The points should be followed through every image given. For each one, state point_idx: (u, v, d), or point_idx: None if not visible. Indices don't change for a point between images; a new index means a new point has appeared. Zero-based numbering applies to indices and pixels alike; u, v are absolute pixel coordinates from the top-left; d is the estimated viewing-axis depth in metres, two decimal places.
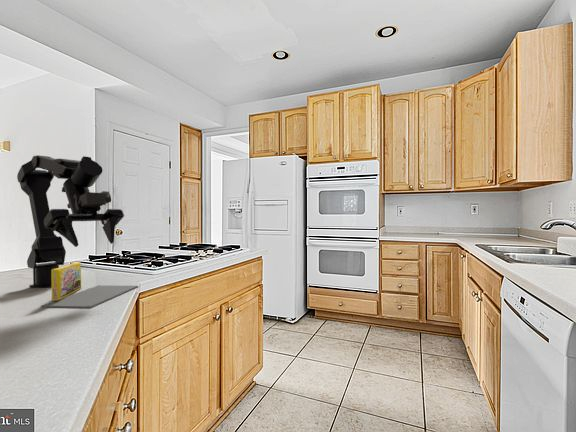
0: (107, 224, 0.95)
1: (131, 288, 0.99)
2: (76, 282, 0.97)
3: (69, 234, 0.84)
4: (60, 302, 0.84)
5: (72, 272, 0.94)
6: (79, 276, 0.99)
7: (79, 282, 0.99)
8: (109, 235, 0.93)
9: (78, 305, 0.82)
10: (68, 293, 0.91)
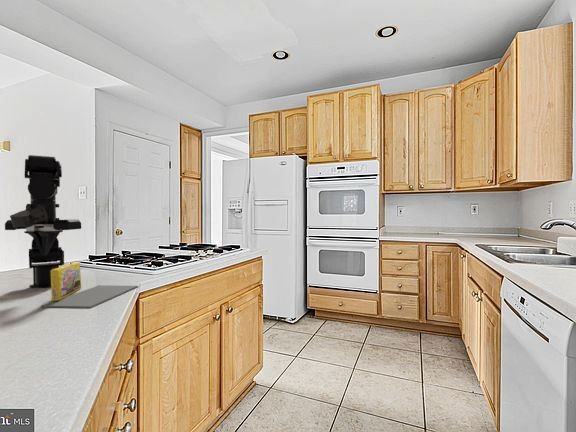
0: None
1: (131, 288, 0.99)
2: (76, 282, 0.97)
3: None
4: (60, 302, 0.84)
5: (71, 272, 0.94)
6: (79, 276, 0.99)
7: (79, 282, 0.99)
8: None
9: (78, 305, 0.82)
10: (68, 293, 0.91)
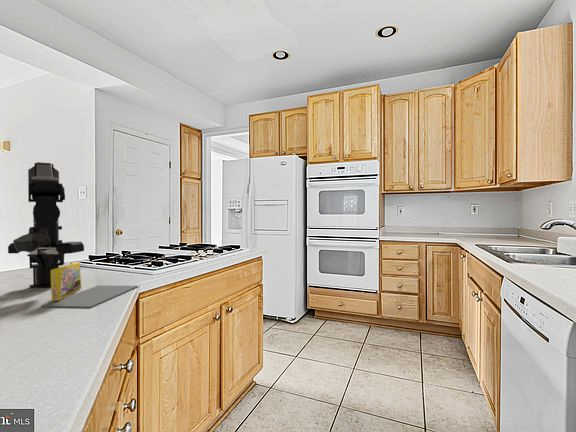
0: None
1: (131, 288, 0.99)
2: (76, 282, 0.97)
3: None
4: (60, 302, 0.84)
5: (71, 272, 0.94)
6: (79, 276, 0.99)
7: (79, 282, 0.99)
8: None
9: (78, 305, 0.82)
10: (68, 293, 0.91)
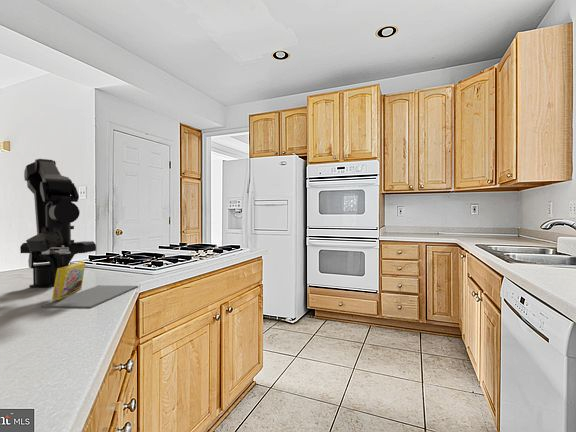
0: None
1: (131, 288, 0.99)
2: (78, 282, 0.97)
3: None
4: (60, 302, 0.84)
5: (76, 272, 0.94)
6: (81, 276, 0.99)
7: (81, 282, 0.99)
8: None
9: (78, 305, 0.82)
10: (68, 293, 0.91)
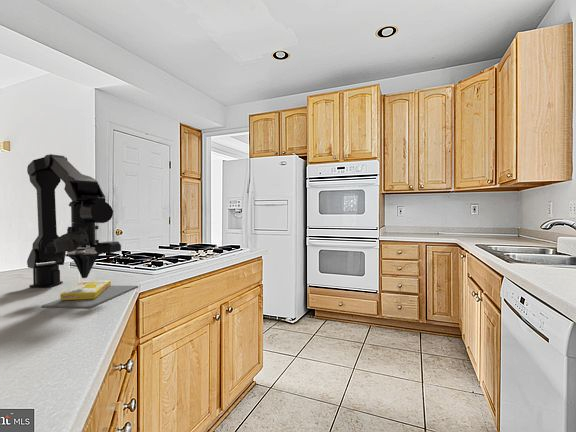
0: None
1: (131, 288, 0.99)
2: None
3: None
4: (60, 302, 0.84)
5: None
6: None
7: None
8: None
9: (78, 305, 0.82)
10: None
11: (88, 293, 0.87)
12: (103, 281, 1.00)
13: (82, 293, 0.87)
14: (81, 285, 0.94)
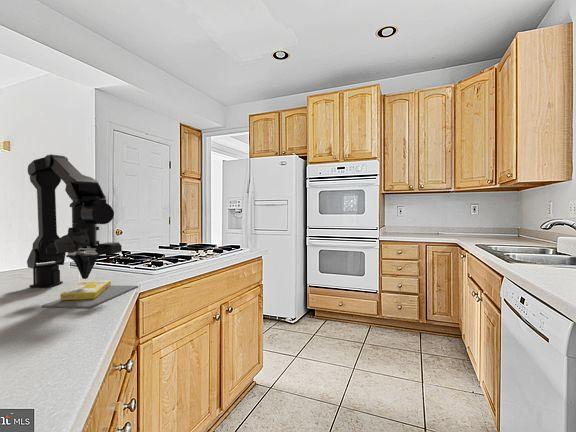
0: None
1: (131, 288, 0.99)
2: None
3: None
4: (60, 302, 0.84)
5: None
6: None
7: None
8: None
9: (78, 305, 0.82)
10: None
11: (88, 293, 0.87)
12: (103, 281, 1.00)
13: (82, 293, 0.87)
14: (81, 285, 0.94)
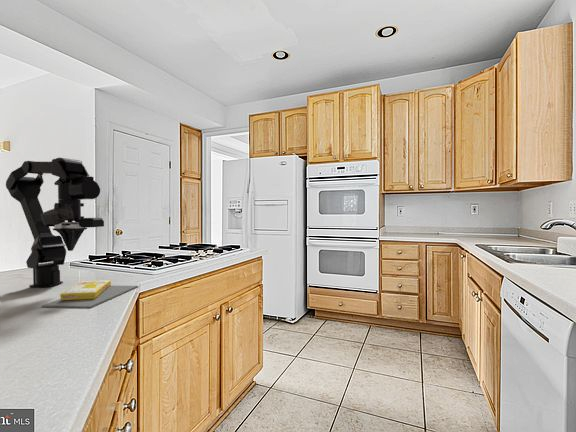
0: None
1: (131, 288, 0.99)
2: None
3: None
4: (60, 302, 0.84)
5: None
6: None
7: None
8: None
9: (78, 305, 0.82)
10: None
11: (88, 293, 0.87)
12: (103, 281, 1.00)
13: (82, 293, 0.87)
14: (81, 285, 0.94)
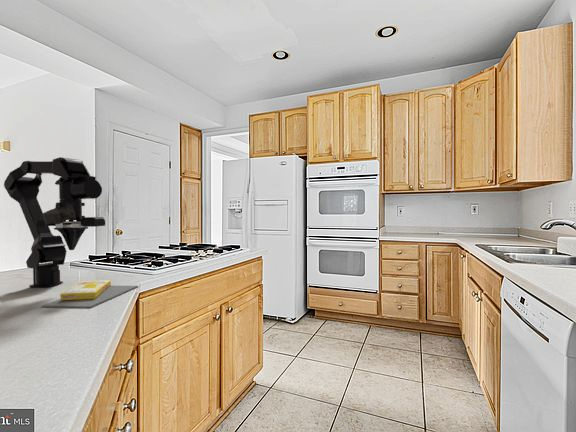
0: None
1: (131, 288, 0.99)
2: None
3: None
4: (60, 302, 0.84)
5: None
6: None
7: None
8: None
9: (78, 305, 0.82)
10: None
11: (88, 293, 0.87)
12: (103, 281, 1.00)
13: (82, 293, 0.87)
14: (81, 285, 0.94)
